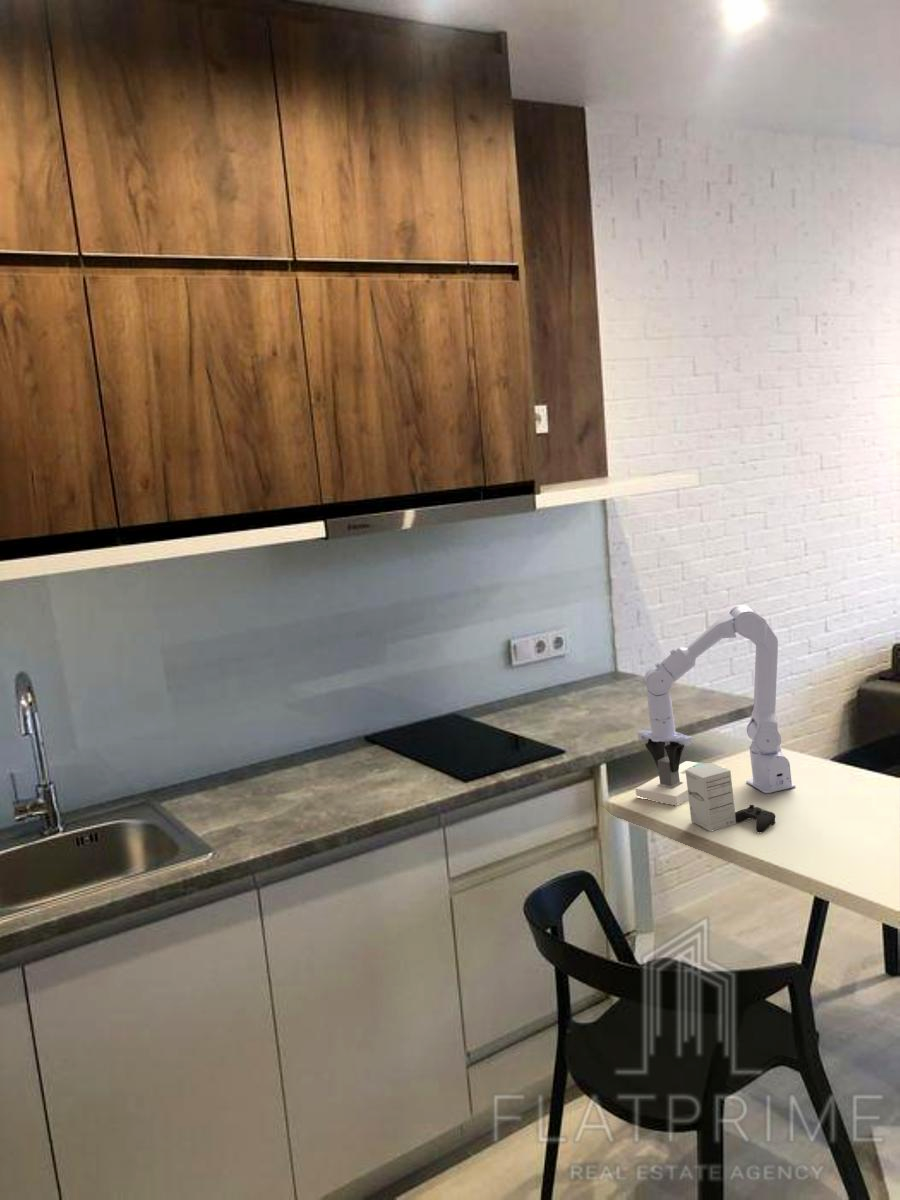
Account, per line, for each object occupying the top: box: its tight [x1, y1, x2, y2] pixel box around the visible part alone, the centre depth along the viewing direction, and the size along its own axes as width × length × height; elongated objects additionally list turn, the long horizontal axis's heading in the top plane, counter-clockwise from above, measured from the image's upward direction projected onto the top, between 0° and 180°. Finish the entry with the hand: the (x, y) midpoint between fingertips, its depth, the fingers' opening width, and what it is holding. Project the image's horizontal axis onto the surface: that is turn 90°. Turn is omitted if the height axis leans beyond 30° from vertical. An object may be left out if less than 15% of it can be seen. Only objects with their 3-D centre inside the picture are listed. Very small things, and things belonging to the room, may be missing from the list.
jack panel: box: [635, 760, 728, 807], centre depth 233 cm, size 22×12×3 cm, turn 132°
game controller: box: [735, 804, 776, 834], centre depth 205 cm, size 10×5×6 cm
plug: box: [657, 756, 680, 786], centre depth 229 cm, size 4×3×6 cm
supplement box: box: [685, 762, 737, 832], centre depth 208 cm, size 7×7×13 cm
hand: (668, 770), depth 229 cm, fingers closed on plug, 3 cm apart
